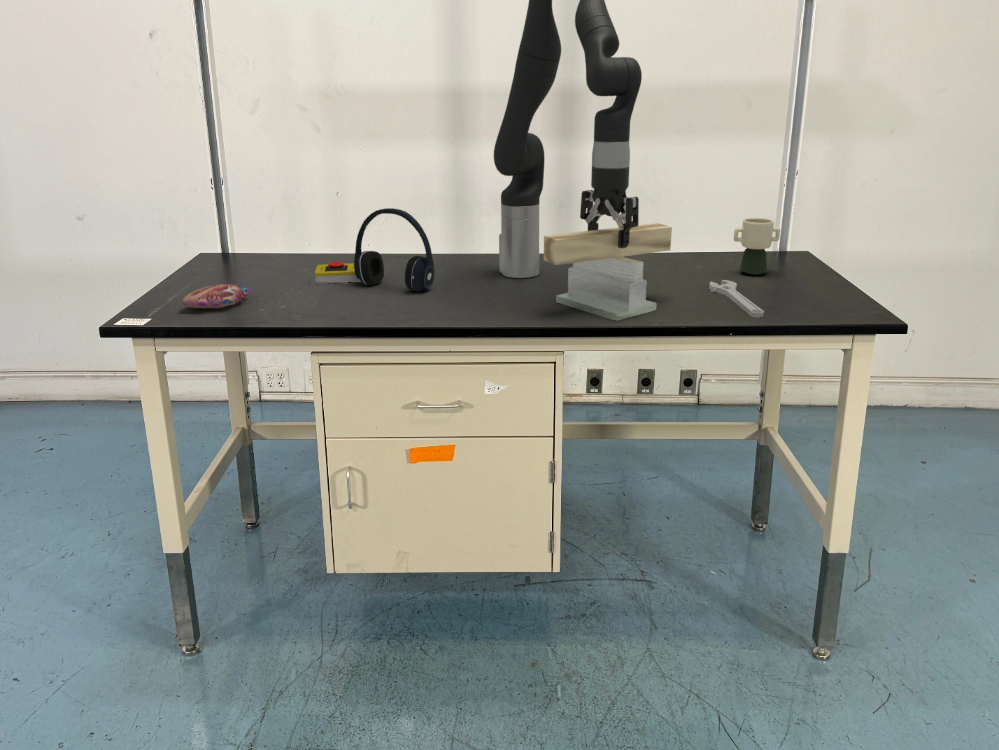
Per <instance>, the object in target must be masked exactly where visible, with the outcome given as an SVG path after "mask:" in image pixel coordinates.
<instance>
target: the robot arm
mask: <svg viewBox="0 0 999 750" xmlns="http://www.w3.org/2000/svg"><path fill="white" fill-rule="evenodd" d="M553 12H554V11H553V0H528V5H527V10H526V15H525V20H524V26H523V29H522V35H521V39H520V43H519V47H518V52H517V56H516V60H515V66H514V73H513V78H512V81H511V86H510V90H509V95H508V99H507V103H506V107H505V111H504V114H503V118H502V121H501V125H500V126H499V127H500V128H499V130H498V134H497V137H496V140H495V144H494V148H493V162H494V166H495V168H496V170H497V172H499V174H501V176H502V175H503V176H506V177H512V178H511V181H510V182H509V184H508V186H506V187H505V188H504V189H503V190H502V191H501V194H500V219H501V220H500V226H501V227H500V230H501V233H499V235H498V246H499V247H498V256H499V257H498V258H499V259H498V261H499V264H498V265H499V266H498V267H499V273H501V275H503V276H504V277H507V278H514V279H525V278H533V277H536V276H538V275H539V274H540V199H541V198H540V197H541V194H542V192H543V188H544V179H545V178H544V175H545V174H544V172H545V149H544V145H543V142H542V140H541V139H540V137H539V136H538V135H536V134H534V133H532V132H529V130H530V127H531V123H532V121H533V118H534V116H535V114H536V112H537V111H538V109H539V108H540V106H541V105H542V104H543V102H544V100H545V99H546V98H547V96H548V94H549V93H550V91H551V88H552V87H553V85H554V82H555V81H556V80H555V79H556V77H557V74H558V73H557V72H558V69H559V65H560V60H561V56H562V45H561V43H562V42H561V38H560V34H559V30H558V27H557V23H556V20H555V17H554V13H553ZM574 26H575V30H576V31H575V32H576V34H577V37H578V39H579V42H580V44H581V47H582V49H583V52H584V53H583V54H584V61H585V63H584V64H585V80H586V86H587V88H588V90H589V91H590V92H591V93H592V94H593V95H595V96H597V97H615V99H614V100H613V103H612V105H611V106H609V107H606V108H604V109H600V110H598V111H597V112H596V113H595V116H594V126H593V147H592V151H591V152H592V153H591V175H590V176H591V181H590V182H591V184H590V185H591V188H592V189H586V190H582V191H581V200H580V212H579V213H580V215H579V217H580V220H584V221H585V223H586V224H587V231H591V230H599V223H598V222H599V220H600V218H601V217H602V216H605V215H606V216H608V217H611V218H612V220H613V221H614V222H616V225H617V226H618V227H619V229H620V230H619V232H618V248H626V247H627V246H628V245H629V236H630V229H631V228H634V227H637V226H638V225H640V224H639V223H640V222H639V221H640V220H639V219H640V218H639V211H640V210H639V208H640V207H639V201H640V199H639V197H638V196H632V197H630V196H629V197H628V196H627V189H628V188H629V187H630V186H629V183H630V182H629V181H630V166H631V165H630V162H631V147H630V146H631V145H630V134H631V119H632V115H633V111H634V108H635V104H636V101H637V99H638V98H637V97H638V94H639V91H640V87H641V83H642V80H643V79H642V77H643V75H642V67H641V66H640V63H639V62H638V61H637V59H635V58H634V57H630V56H619V57H618V56H617V57H615V55H616V54H617V52H618V51H619V48H620V39H619V35H618V34H617V31H616V27H615V25H614V23H613V21H612V18H611V16H610V12H609V10H608V8H607V5H606V1H605V0H579V1H578V4H577V7H576V11H575V16H574ZM618 227H617V228H618Z"/></svg>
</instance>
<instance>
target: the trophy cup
mask: <svg viewBox="0 0 999 750" xmlns="http://www.w3.org/2000/svg"><path fill="white" fill-rule="evenodd" d="M774 223H775V222H774V220H773V219H770V218H764V217H763V218H762V217H748V218H744V219H743V220H742V227H736V228H735V229H734V232H733V242H739V243H741V246H742V247H743V248H745V249H744V251H743V255H742V258H741V262H740V268H739V271H741V272H743V273H745V274H746V275H747V274H750V275H762V274H766V272H768V271H767V269H768V267H767V261H768V260H767V252H766V249H769V248H770V247H771V246H772V244H773V243H772V242H778V241H779V240H780V237H781V228H780V227H774V225H775V224H774ZM774 232H775V236H774V237H773V234H774ZM739 233H741V237H739Z"/></svg>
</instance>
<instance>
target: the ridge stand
mask: <svg viewBox="0 0 999 750" xmlns="http://www.w3.org/2000/svg"><path fill="white" fill-rule="evenodd" d="M567 274H568V275H567V276H568V277H567V278H568V279H567V292H565V293H561V294H557V295H556V296H555V303H558V304H561V305H562V306H566V307H569V308H573V309H576V310H579V311H583V312H585V313H589V314H592V315H595V316H598V317H601V318H605V319H608V320H611V321H614V320H615V321H614V322H619V321H622V319H623V320H626V319H630V318H633V317H635V316H636V317H637V316H640V315H643V314H647V313H651V312H653V311H657V302H654V301H651V300H647V285H648V284H647V283H648V282H647V281H648V280H647V279H644V261H641V260H636V259H632V258H627V257H625V256H623V257H616V258H608V259H600V260H592V261H585V262H577V263H572V267H568V271H567ZM629 317H630V318H629ZM618 320H619V321H618Z"/></svg>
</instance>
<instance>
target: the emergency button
mask: <svg viewBox="0 0 999 750" xmlns="http://www.w3.org/2000/svg"><path fill="white" fill-rule="evenodd" d="M314 275H315V281H316V282H353V281H360V279H358V278H357V277H356V275H355V270H354V262H353V263H344V262H343V261H331V262H329V263H328V264H317V265H316V268H315V271H314Z"/></svg>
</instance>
